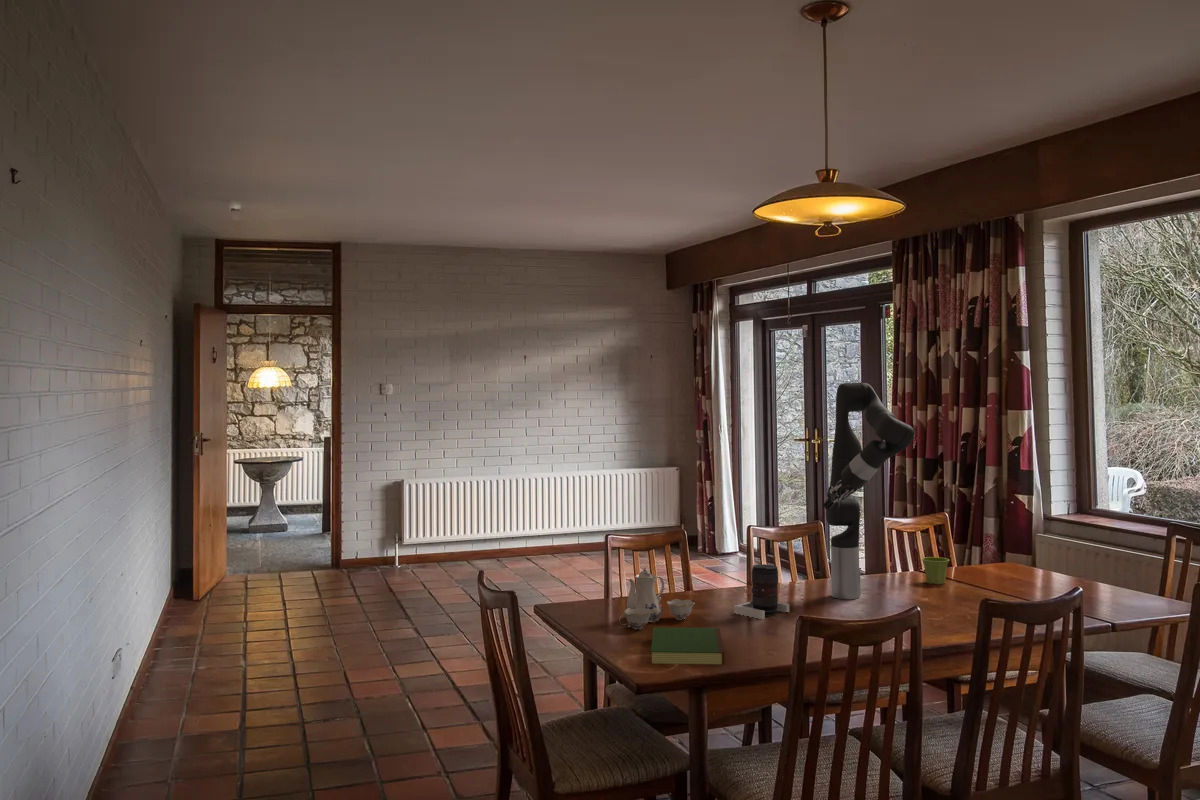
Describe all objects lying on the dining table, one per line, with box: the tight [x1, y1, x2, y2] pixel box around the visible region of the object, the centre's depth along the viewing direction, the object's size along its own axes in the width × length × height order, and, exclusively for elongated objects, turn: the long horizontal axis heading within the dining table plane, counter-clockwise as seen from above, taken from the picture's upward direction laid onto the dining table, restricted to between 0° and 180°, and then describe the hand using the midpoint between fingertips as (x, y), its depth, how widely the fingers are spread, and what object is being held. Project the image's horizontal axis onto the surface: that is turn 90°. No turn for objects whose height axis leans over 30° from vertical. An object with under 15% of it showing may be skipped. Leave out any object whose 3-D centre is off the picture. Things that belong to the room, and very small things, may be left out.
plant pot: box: [921, 556, 950, 585], centre depth 335 cm, size 9×9×9 cm
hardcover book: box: [650, 626, 725, 665], centre depth 252 cm, size 25×19×4 cm
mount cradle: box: [733, 600, 790, 620], centre depth 293 cm, size 14×11×3 cm
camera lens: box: [751, 563, 779, 617], centre depth 292 cm, size 8×8×15 cm
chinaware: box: [619, 566, 696, 631], centre depth 284 cm, size 28×17×17 cm, turn 133°
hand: (826, 507), depth 287 cm, fingers closed
